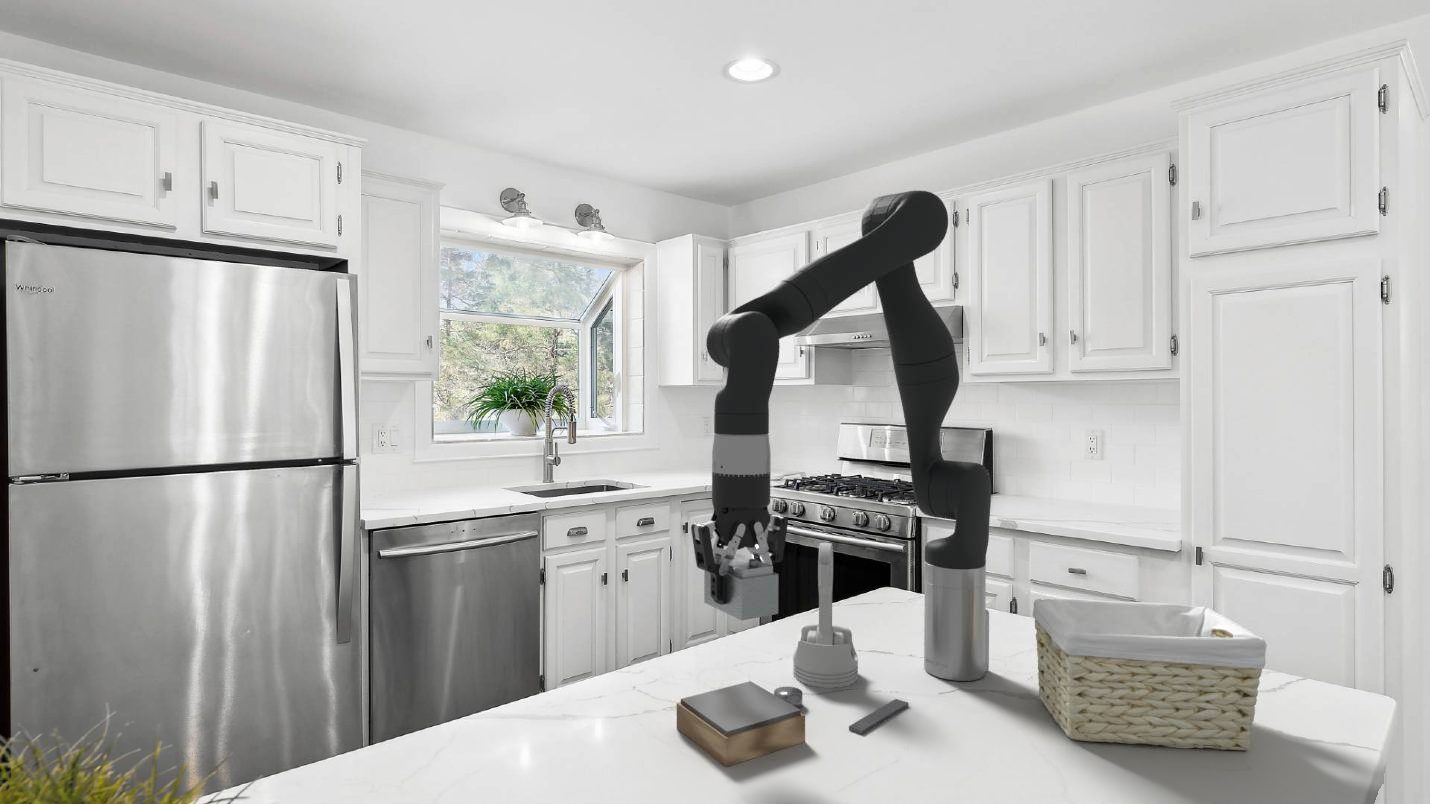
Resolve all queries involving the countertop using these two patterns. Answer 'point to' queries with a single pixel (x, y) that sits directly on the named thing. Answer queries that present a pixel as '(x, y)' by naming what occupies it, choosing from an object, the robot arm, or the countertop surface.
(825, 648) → the engine component
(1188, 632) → the storage basket
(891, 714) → the bar
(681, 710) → the stand
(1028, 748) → the countertop surface
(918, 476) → the robot arm
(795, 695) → the dark grey domed cap
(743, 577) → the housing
